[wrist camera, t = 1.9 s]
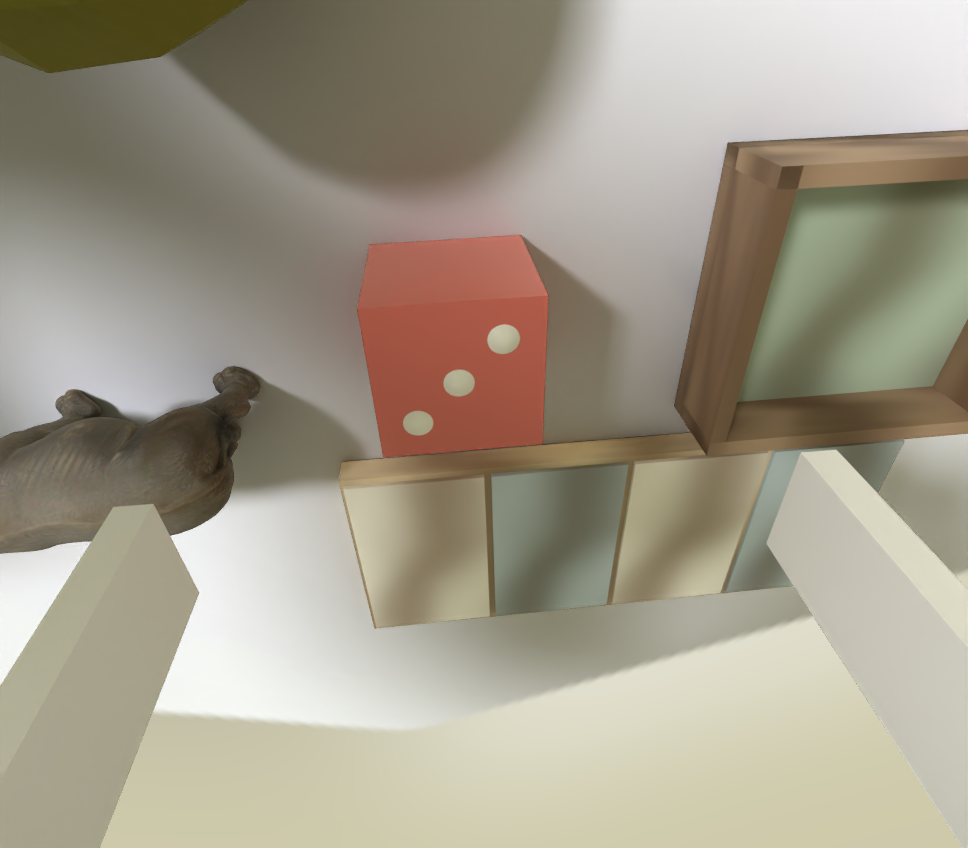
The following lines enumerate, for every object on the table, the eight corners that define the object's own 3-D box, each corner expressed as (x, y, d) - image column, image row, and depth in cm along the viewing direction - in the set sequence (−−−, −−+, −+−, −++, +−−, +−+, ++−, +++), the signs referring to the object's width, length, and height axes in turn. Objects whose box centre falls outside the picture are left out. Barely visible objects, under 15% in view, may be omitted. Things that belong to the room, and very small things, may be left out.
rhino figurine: (-123, 417, 21) (-287, 542, 16) (246, 347, 20) (193, 453, 16) (-43, 497, 23) (-164, 626, 18) (287, 436, 23) (253, 550, 18)
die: (389, 373, 22) (383, 457, 18) (369, 243, 19) (356, 308, 15) (519, 363, 22) (542, 444, 18) (520, 234, 19) (548, 295, 15)
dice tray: (674, 406, 24) (706, 456, 21) (727, 143, 18) (782, 166, 15) (924, 385, 24) (986, 431, 22) (1057, 125, 18) (1164, 145, 16)
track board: (375, 608, 30) (374, 631, 29) (341, 461, 24) (337, 484, 23) (817, 564, 31) (831, 585, 30) (888, 416, 25) (910, 434, 24)
